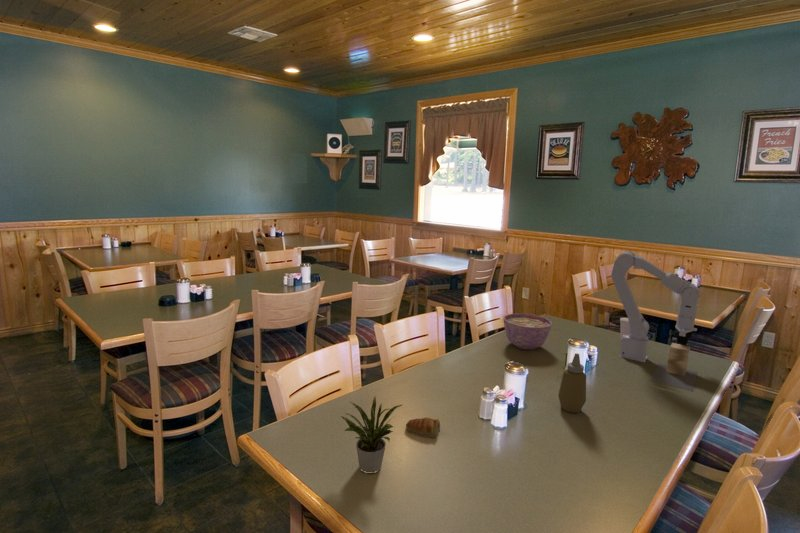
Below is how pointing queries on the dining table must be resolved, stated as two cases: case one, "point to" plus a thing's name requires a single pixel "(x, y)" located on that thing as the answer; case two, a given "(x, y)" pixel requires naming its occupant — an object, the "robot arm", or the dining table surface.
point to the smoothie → (624, 327)
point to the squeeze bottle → (573, 387)
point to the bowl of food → (526, 330)
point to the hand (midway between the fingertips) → (680, 349)
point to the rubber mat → (674, 378)
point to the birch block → (678, 359)
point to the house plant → (370, 437)
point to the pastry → (424, 427)
